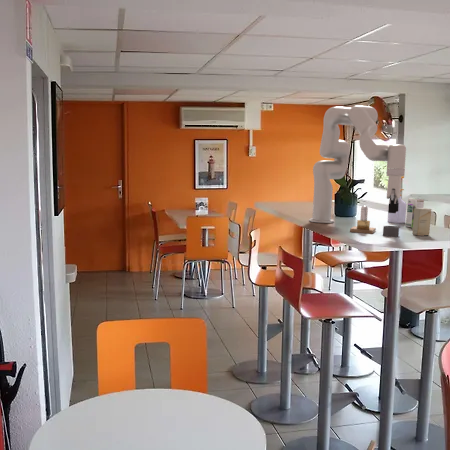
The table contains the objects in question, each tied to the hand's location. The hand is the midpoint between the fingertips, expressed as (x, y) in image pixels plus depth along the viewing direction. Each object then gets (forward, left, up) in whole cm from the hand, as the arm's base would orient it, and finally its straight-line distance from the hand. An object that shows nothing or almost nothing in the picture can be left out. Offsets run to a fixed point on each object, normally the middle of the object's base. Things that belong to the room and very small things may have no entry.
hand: (393, 212), depth 244 cm
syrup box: (-39, +7, -11) cm, 41 cm away
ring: (0, 0, -11) cm, 11 cm away
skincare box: (-11, +12, -11) cm, 19 cm away
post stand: (-6, -13, -11) cm, 18 cm away
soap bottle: (-56, -3, -11) cm, 57 cm away
